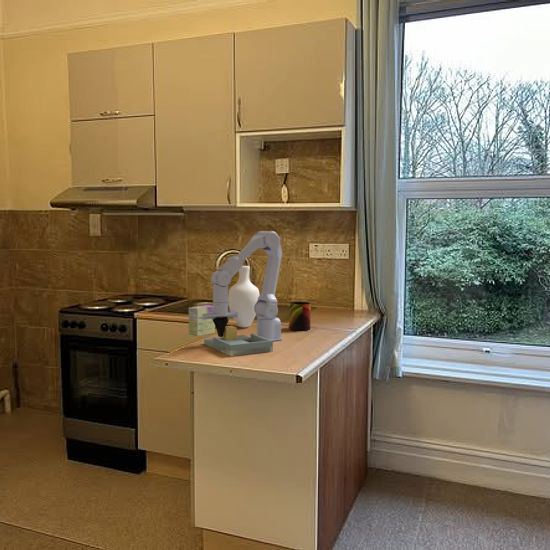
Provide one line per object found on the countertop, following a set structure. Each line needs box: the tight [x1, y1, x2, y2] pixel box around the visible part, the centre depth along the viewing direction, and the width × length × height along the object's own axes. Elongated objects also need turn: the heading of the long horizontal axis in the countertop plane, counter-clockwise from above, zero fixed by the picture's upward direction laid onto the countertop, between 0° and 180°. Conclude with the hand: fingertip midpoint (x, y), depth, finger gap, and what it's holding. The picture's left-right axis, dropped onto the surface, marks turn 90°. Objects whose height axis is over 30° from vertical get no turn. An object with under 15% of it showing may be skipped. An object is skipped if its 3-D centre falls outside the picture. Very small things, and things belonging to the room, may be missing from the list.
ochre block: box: [221, 325, 238, 340], centre depth 217 cm, size 4×4×4 cm
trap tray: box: [203, 333, 274, 357], centre depth 211 cm, size 17×24×4 cm
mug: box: [288, 301, 312, 332], centre depth 251 cm, size 10×14×12 cm
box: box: [188, 304, 216, 337], centre depth 237 cm, size 10×6×12 cm, turn 141°
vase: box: [228, 265, 261, 329], centre depth 253 cm, size 14×14×28 cm
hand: (220, 336), depth 215 cm, fingers closed
